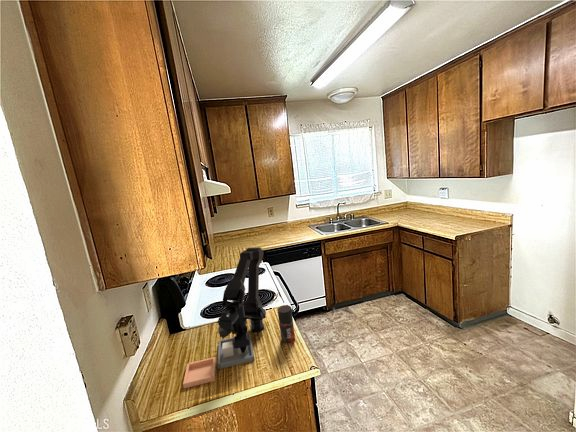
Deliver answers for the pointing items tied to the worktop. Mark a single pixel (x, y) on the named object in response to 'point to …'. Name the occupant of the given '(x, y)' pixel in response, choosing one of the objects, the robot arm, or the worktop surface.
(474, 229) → the worktop surface
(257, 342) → the worktop surface
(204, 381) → the dish
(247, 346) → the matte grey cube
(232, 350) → the beige cube
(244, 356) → the bin
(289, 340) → the deodorant
